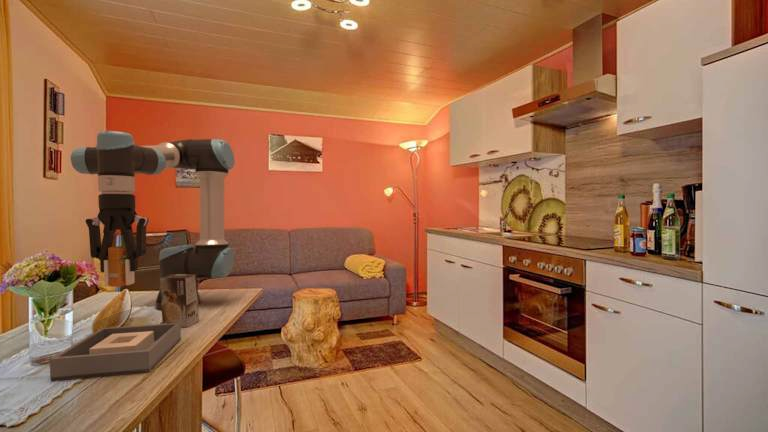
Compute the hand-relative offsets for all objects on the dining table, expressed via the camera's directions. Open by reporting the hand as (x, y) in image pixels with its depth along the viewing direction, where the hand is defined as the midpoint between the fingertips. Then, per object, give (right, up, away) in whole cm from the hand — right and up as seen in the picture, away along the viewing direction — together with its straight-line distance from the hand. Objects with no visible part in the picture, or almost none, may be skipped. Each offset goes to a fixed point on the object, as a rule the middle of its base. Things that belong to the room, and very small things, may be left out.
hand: (119, 284), depth 90 cm
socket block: (+1, -19, 0) cm, 19 cm away
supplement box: (0, -1, 0) cm, 1 cm away
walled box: (+1, -19, 0) cm, 19 cm away
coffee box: (+1, -18, +26) cm, 32 cm away
